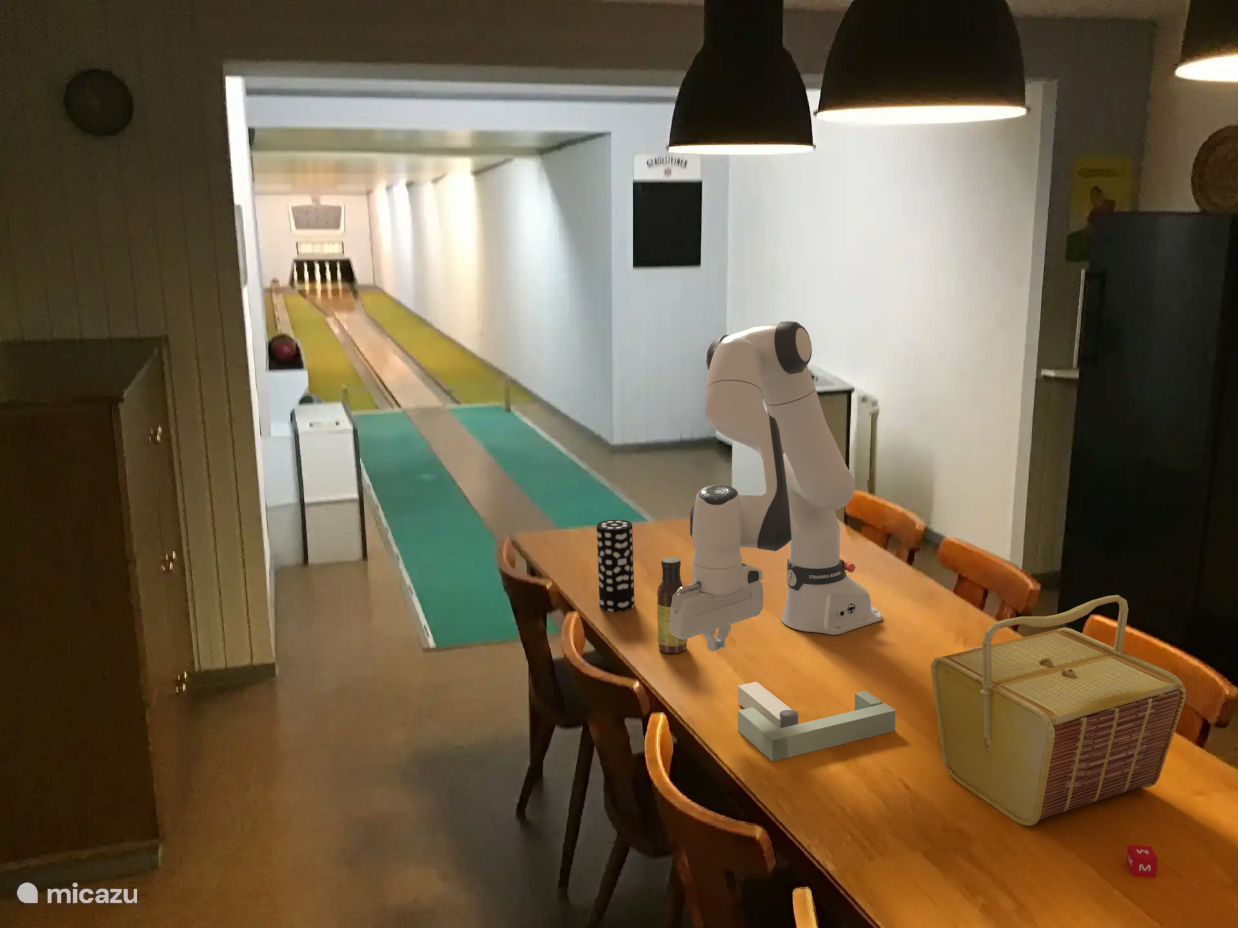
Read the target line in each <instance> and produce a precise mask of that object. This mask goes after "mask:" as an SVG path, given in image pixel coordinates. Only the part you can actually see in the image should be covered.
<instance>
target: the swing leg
mask: <svg viewBox="0 0 1238 928" xmlns="http://www.w3.org/2000/svg"><path fill="white" fill-rule="evenodd" d="M737 703H738V704H739V705H740V706H741V707H742V708H743V709H747V708H751V707H753V708H754V709H756V710H757V711H758V712H759V713H760V714H762V715H763V716H764V717H765V718H766V719H768V720H769V721H770V722H771V723H772V724H774V725H775V726H776V727H777V728H778V729H780V728H784V727H788V726H792V725H796V724H800V723H799V722H800V721H799V719H800V718H799V717H800V715H799V713H798V712H797V711H796V710H793V709H792V708H791V707H789V706H788V705H787V704H785V703H784V702H783V701H782V700H781V699H779V698H778V697H777V696H776V695H774V694H773V693H772V692H771V691H769V690H768V689H767V688H765V687H764V686H763V685H762V684H760V683H759V682H758V681H754V682H753V681H752V682H749V683H744V684H740V685H737Z"/></svg>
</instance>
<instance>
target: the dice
mask: <svg viewBox="0 0 1238 928" xmlns="http://www.w3.org/2000/svg"><path fill="white" fill-rule="evenodd" d="M1126 853H1127V855H1126V865H1127V868H1128V870H1129V872H1130V874H1131V877H1143V878H1152V879H1153V878H1155V879H1156V878H1157V872H1158V871H1157V869H1158V857H1157V855H1156V853H1155V850H1154V849H1153V848H1152V845H1137V844H1136V845H1135V844H1127V852H1126Z"/></svg>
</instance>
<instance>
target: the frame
mask: <svg viewBox="0 0 1238 928" xmlns="http://www.w3.org/2000/svg"><path fill="white" fill-rule="evenodd" d="M896 716H897V715H896V709H895V708H893V707H891V706H890V705H888V704H887V703H886V702H885V703H883V701H882V700H881V699H879V698H878V697H876V696H875V695H873V694H872V693H870V692H868V691H867V690H864V691H860V692H855V693H854V710H851V711H848V712H844V713H840V714H833V715H831V716H826V717H822V718H818V719H814V720H810V721H806V722H802V723H799V724H796V725H792V726H788V727H784V728H780V729H778V728H777V727H776V726H775V725H774V724H772V723H771V722H770V721H769V720H768V719H766V718H765V717H764V716H763V715H762V714H760V713H759V712H758V711H757V710H756V709H754V708H753V707H751V708H747V709H745V708H743V709H739V710H737V731H738V732H739V733H740V734H741V735H742V736H743V737H744V738H745V739H746V740H747V741H749V742H750V744H752V745H753V746H754V747H755V748H757V749H758V750H759V751H760V752H761V753H762V754H763V755H764V756H765V757H766V758H768V759H769V761H770V762H772V761H773V762H776V761H780V760H785V759H789V758H792V757H797V756H800V755H804V754H807V753H811V752H816V751H821V750H824V749H828V748H832V747H836V746H839V745H844V744H847V743H848V744H849V743H852V742H857V741H861V740H863V739H868V738H871V737H876V736H881V735H884V734H889V733H892V732H895V731H896ZM788 757H789V758H788Z"/></svg>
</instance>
